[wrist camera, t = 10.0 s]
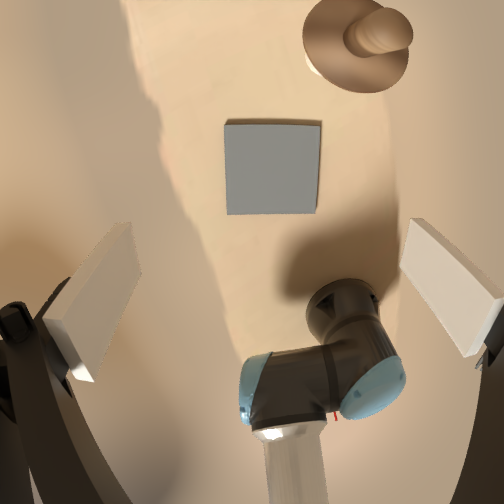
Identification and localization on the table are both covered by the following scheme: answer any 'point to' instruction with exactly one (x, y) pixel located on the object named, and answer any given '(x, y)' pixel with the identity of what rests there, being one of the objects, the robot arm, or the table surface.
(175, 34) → the table surface
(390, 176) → the table surface
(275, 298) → the table surface
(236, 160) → the mat
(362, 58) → the lid
